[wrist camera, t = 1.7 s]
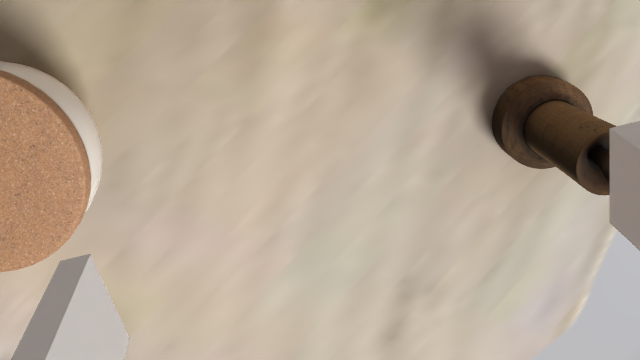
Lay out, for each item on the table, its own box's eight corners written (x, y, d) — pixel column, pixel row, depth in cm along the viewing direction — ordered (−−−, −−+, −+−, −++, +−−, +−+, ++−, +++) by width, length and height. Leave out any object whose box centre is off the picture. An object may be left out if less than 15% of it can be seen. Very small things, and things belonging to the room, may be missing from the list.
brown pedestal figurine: (577, 66, 44) (757, 129, 27) (582, 150, 47) (751, 257, 30) (487, 84, 45) (610, 158, 28) (495, 167, 47) (615, 283, 30)
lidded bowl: (147, 88, 43) (103, 127, 33) (95, 239, 47) (41, 317, 37) (-35, 16, 41) (-144, 33, 31) (-75, 180, 45) (-184, 246, 34)
